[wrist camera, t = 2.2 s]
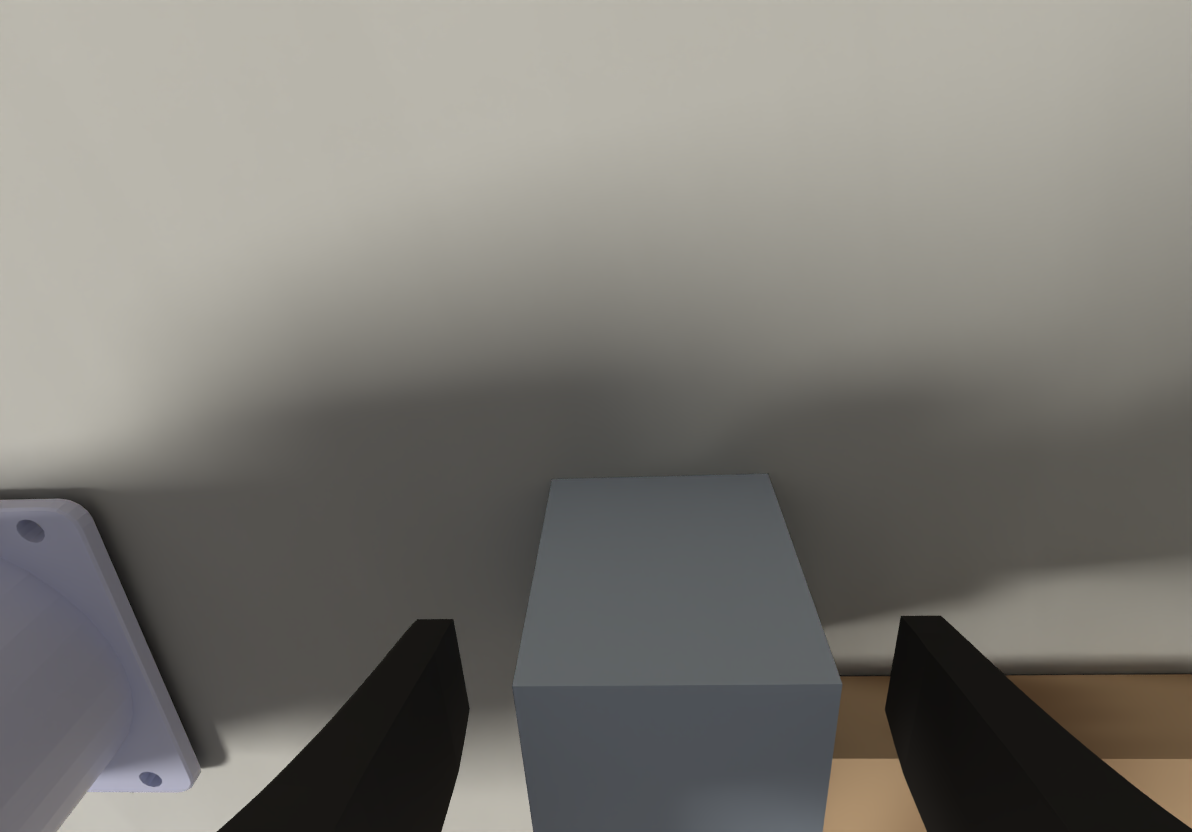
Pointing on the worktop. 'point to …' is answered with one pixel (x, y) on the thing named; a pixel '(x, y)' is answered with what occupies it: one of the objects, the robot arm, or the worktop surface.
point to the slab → (1077, 702)
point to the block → (673, 662)
